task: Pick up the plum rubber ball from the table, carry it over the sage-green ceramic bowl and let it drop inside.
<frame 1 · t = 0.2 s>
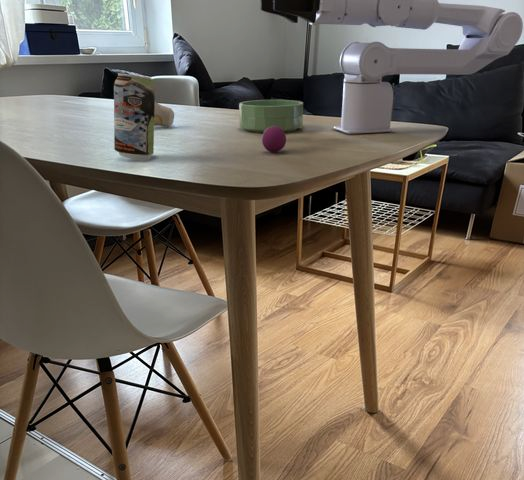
hand: (267, 2, 88), 22 cm above the table, tool horizontal, fingers open, 7 cm apart
ball: (274, 139, 84), point 2 cm above the table
mug: (152, 128, 112), on the table
tall printed two-tone box: (139, 159, 82), on the table
bowl: (271, 128, 108), on the table
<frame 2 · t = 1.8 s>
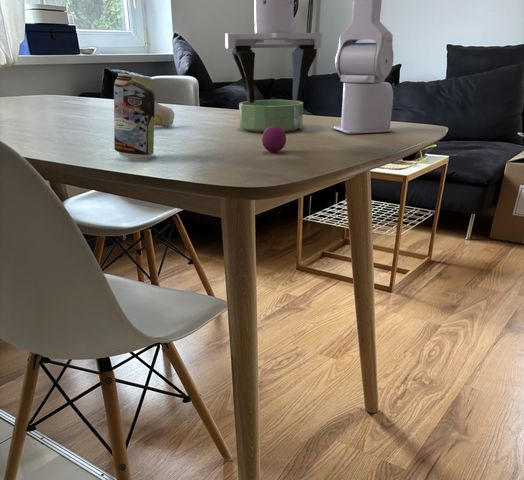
hand: (273, 101, 81), 8 cm above the table, tool pointing down, fingers open, 7 cm apart
nothing on the table moved.
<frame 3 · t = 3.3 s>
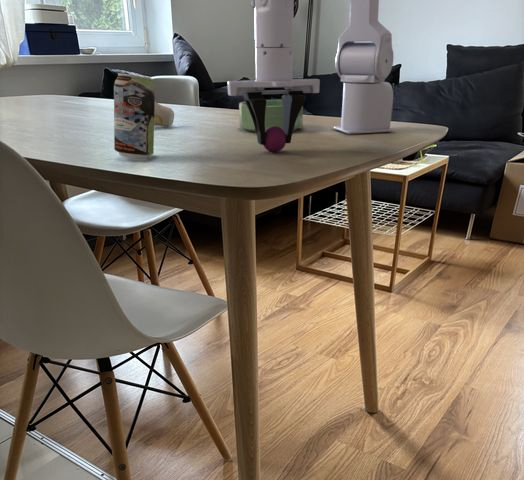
hand: (274, 143, 84), 1 cm above the table, tool pointing down, fingers closed on ball, 4 cm apart
ball: (274, 139, 84), point 2 cm above the table, touching gripper
everything else where it was.
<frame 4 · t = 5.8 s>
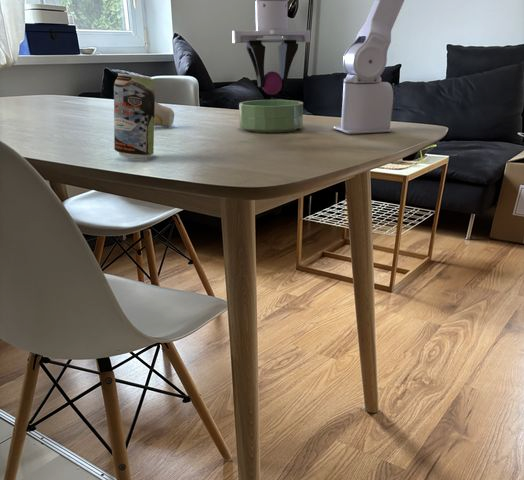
hand: (271, 86, 99), 8 cm above the table, tool pointing down, fingers closed on ball, 4 cm apart
ball: (271, 83, 98), point 9 cm above the table, touching gripper
everything else where it was.
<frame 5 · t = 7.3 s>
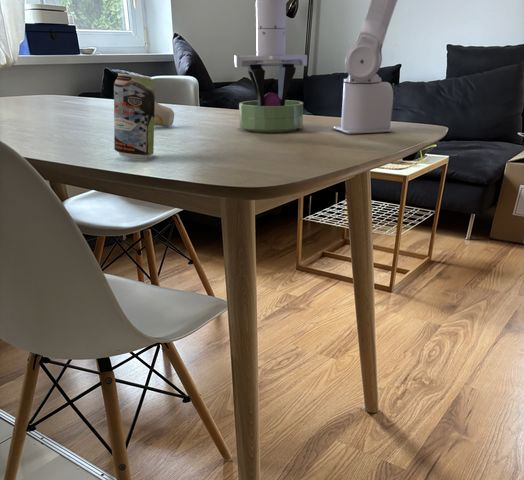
hand: (271, 106, 106), 4 cm above the table, tool pointing down, fingers closed on ball, 4 cm apart
ball: (271, 103, 106), point 5 cm above the table, touching gripper
everything else where it was.
when the fingers open (2 cm above the table, at t = 8.4 s): ball stays where it is, resting on bowl.
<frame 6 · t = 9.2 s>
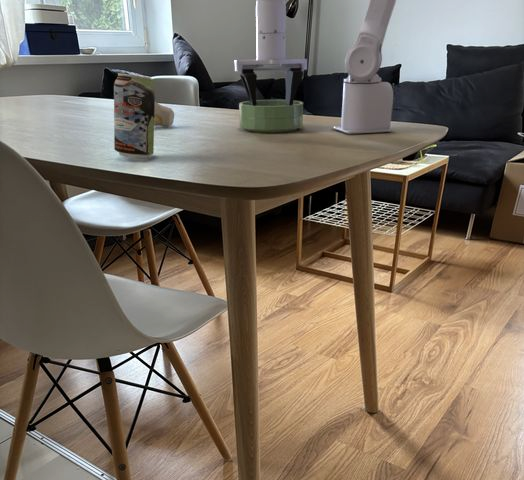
hand: (271, 110, 106), 4 cm above the table, tool pointing down, fingers open, 7 cm apart
ball: (271, 115, 107), point 3 cm above the table, touching bowl
everything else where it was.
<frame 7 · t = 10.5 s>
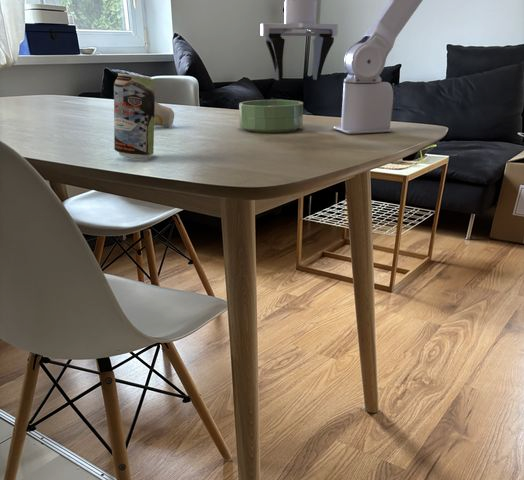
hand: (297, 80, 99), 9 cm above the table, tool pointing down, fingers open, 7 cm apart
ball: (273, 115, 107), point 3 cm above the table, tilted 12°, touching bowl
everything else where it was.
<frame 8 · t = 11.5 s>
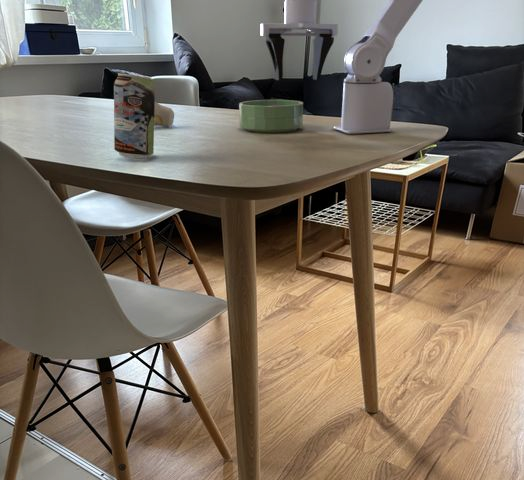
hand: (297, 80, 99), 9 cm above the table, tool pointing down, fingers open, 7 cm apart
ball: (274, 115, 107), point 3 cm above the table, tilted 18°, touching bowl
everything else where it was.
at the end: ball inside the target area in the bowl (0.6 cm from its centre), point 2.6 cm above the bowl's base; the gripper is holding nothing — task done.
